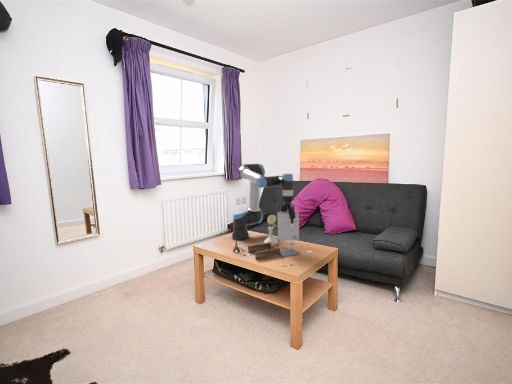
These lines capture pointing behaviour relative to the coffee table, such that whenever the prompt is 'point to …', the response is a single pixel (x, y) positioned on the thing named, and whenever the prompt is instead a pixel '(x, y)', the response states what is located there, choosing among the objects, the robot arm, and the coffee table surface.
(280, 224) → the hard drive box
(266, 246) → the walnut shelf bay
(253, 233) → the coffee table surface
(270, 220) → the flower in vase
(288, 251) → the felt pad
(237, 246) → the eiffel tower figurine
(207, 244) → the coffee table surface
